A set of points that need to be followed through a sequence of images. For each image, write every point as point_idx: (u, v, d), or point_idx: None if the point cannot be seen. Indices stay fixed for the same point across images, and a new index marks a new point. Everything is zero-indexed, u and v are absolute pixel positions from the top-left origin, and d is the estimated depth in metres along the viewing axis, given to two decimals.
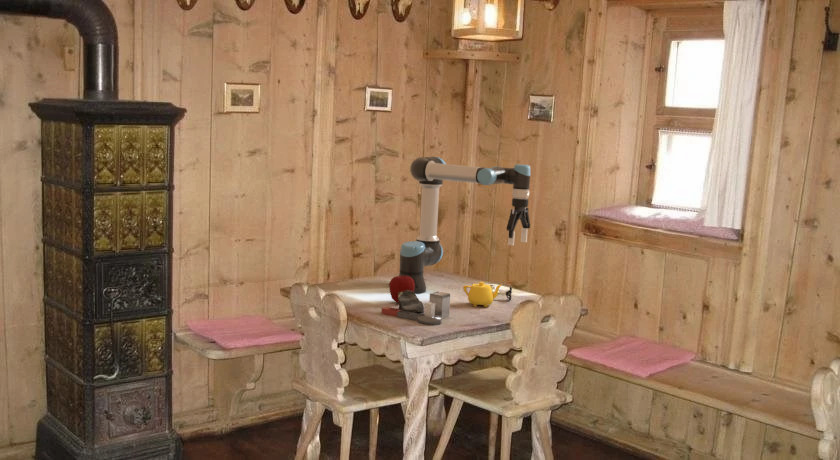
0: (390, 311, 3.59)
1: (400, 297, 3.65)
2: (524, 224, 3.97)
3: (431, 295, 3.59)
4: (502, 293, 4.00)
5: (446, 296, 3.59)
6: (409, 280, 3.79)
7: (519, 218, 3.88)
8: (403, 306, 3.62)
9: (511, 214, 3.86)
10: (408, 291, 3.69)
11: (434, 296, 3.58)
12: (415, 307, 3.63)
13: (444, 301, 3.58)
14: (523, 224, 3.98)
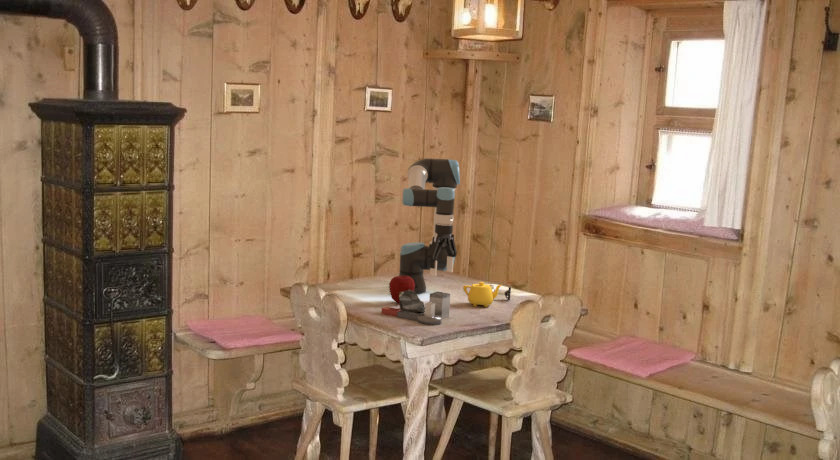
0: (390, 311, 3.59)
1: (401, 297, 3.66)
2: (449, 252, 3.63)
3: (431, 295, 3.59)
4: (501, 293, 4.00)
5: (446, 296, 3.59)
6: (409, 280, 3.79)
7: (442, 246, 3.54)
8: (404, 306, 3.63)
9: (433, 242, 3.52)
10: (409, 291, 3.70)
11: (434, 296, 3.58)
12: (416, 307, 3.64)
13: (444, 301, 3.58)
14: (448, 252, 3.63)
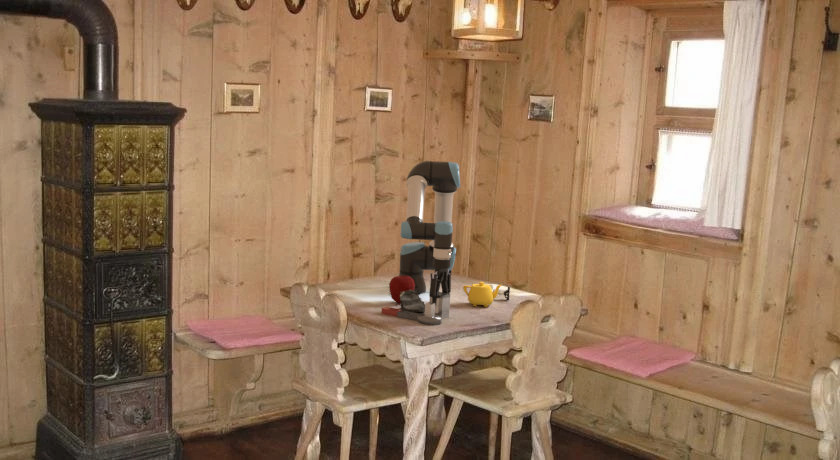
0: (390, 311, 3.59)
1: (402, 297, 3.66)
2: (444, 289, 3.63)
3: None
4: (500, 293, 4.00)
5: (446, 296, 3.59)
6: (409, 280, 3.79)
7: (441, 281, 3.57)
8: (404, 306, 3.63)
9: (432, 279, 3.55)
10: (410, 291, 3.70)
11: None
12: (416, 307, 3.64)
13: (444, 301, 3.58)
14: (443, 289, 3.63)
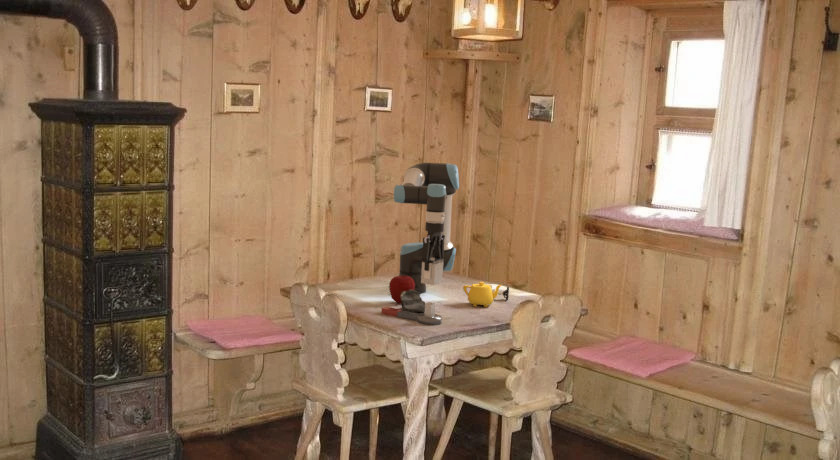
0: (390, 311, 3.59)
1: (402, 296, 3.67)
2: (437, 254, 3.50)
3: None
4: (499, 293, 4.00)
5: (439, 261, 3.46)
6: (409, 280, 3.79)
7: (434, 246, 3.45)
8: (405, 305, 3.64)
9: (424, 243, 3.42)
10: (411, 291, 3.71)
11: None
12: (417, 307, 3.64)
13: (437, 266, 3.46)
14: (436, 254, 3.51)
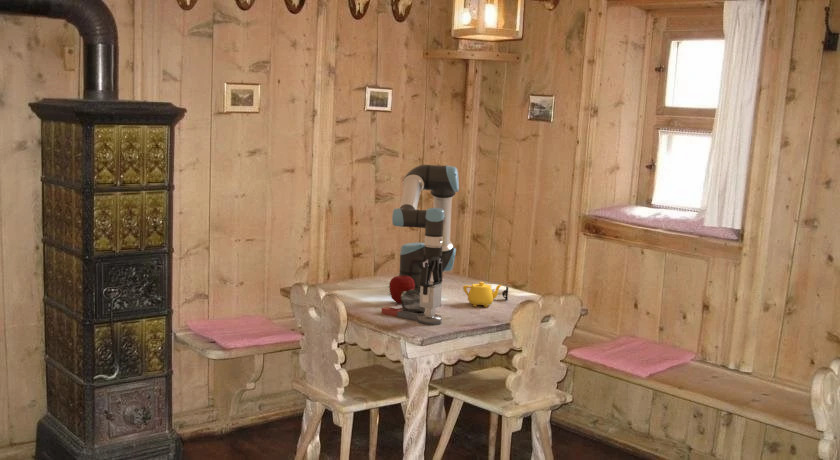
0: (390, 311, 3.59)
1: (403, 296, 3.67)
2: (436, 278, 3.52)
3: None
4: (499, 293, 4.01)
5: (437, 285, 3.48)
6: (409, 280, 3.79)
7: (432, 270, 3.46)
8: (405, 305, 3.64)
9: (422, 268, 3.43)
10: (412, 290, 3.71)
11: None
12: (417, 306, 3.65)
13: (436, 290, 3.47)
14: (434, 278, 3.52)
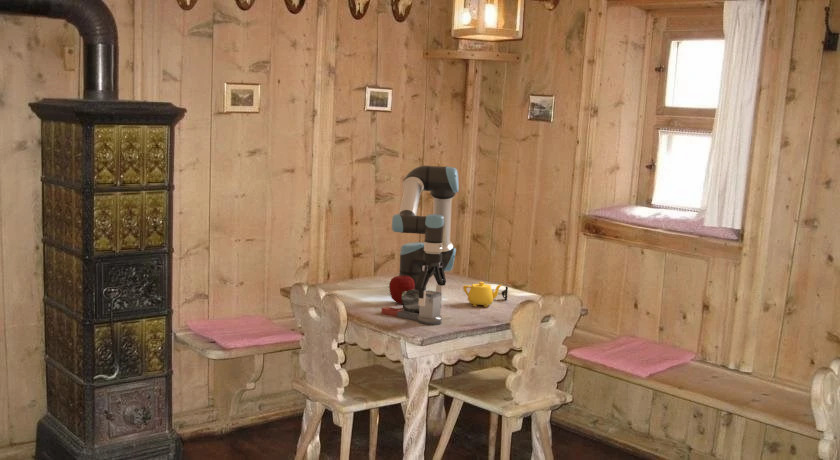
0: (390, 311, 3.59)
1: (403, 296, 3.67)
2: (439, 281, 3.54)
3: None
4: (498, 293, 4.01)
5: (437, 295, 3.48)
6: (409, 280, 3.79)
7: (431, 275, 3.45)
8: (405, 305, 3.64)
9: (421, 271, 3.43)
10: (413, 290, 3.71)
11: None
12: (418, 306, 3.65)
13: (435, 300, 3.48)
14: (437, 281, 3.54)
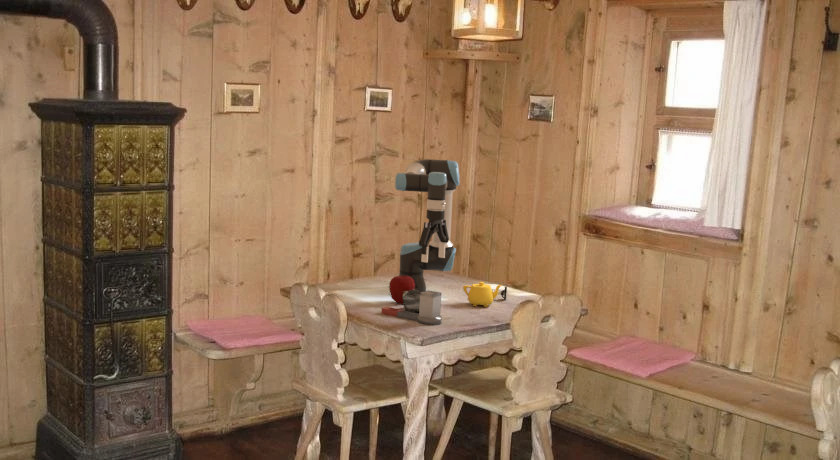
0: (390, 311, 3.59)
1: (404, 296, 3.68)
2: (441, 238, 3.58)
3: (422, 294, 3.49)
4: None
5: (437, 295, 3.48)
6: (409, 280, 3.79)
7: (434, 232, 3.49)
8: (406, 305, 3.65)
9: (424, 228, 3.47)
10: (414, 290, 3.71)
11: (425, 295, 3.48)
12: (418, 306, 3.65)
13: (435, 300, 3.48)
14: (440, 238, 3.59)
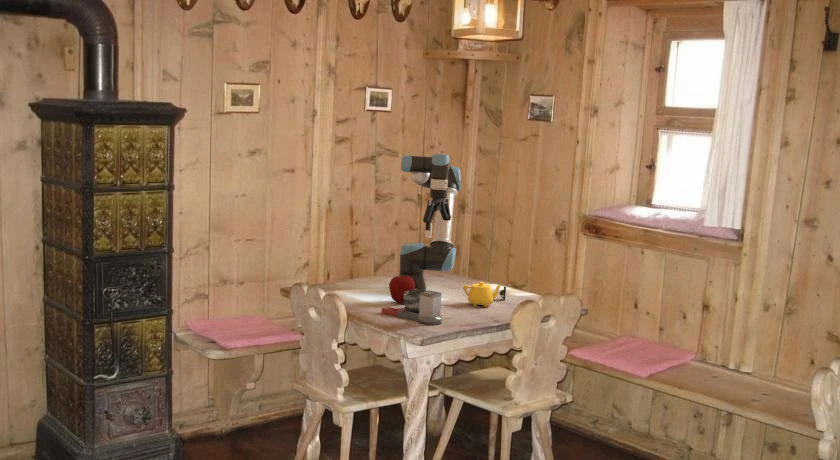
0: (390, 311, 3.59)
1: (405, 296, 3.68)
2: (444, 216, 3.81)
3: (422, 294, 3.49)
4: None
5: (437, 295, 3.48)
6: (409, 280, 3.79)
7: (437, 210, 3.72)
8: (407, 305, 3.65)
9: (428, 205, 3.70)
10: (415, 290, 3.72)
11: (425, 295, 3.48)
12: (419, 306, 3.65)
13: (435, 300, 3.48)
14: (443, 216, 3.82)
